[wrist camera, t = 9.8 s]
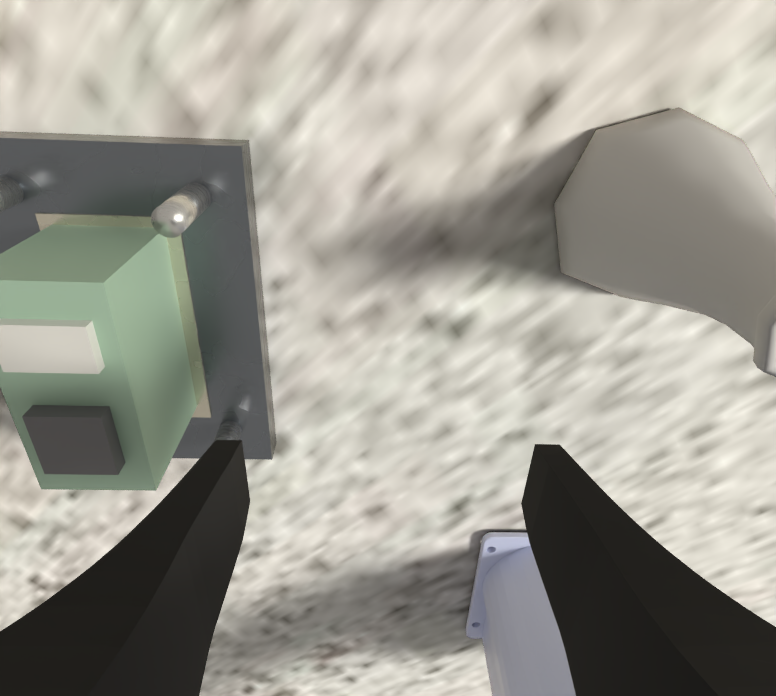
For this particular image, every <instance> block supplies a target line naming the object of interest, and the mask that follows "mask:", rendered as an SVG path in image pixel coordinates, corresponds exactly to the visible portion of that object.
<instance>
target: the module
mask: <svg viewBox="0 0 776 696" xmlns="http://www.w3.org/2000/svg"><path fill="white" fill-rule="evenodd" d="M0 388H1V391H2V393H3V395H4V398H5V400H6V403H7V405H8V408H9V410H10V413H11V415H12V418H13V420H14V423H15V425H16V428H17V430H18V433H19V435H20V438H21V440H22V442H23V445H24V447H25V450H26V452H27V455H28V457H29V460H30V462H31V465H32V467H33V470H34V472H35V475H36V477H37V480H38V482H39V485H40V487H41V489H77V490H157V488H158V486H159V483H160V481H161V479H162V477H163V475H164V473H165V471H166V469H167V467H168V465H169V463H170V461H171V459H172V457H173V455H174V453H175V451H176V448H177V446H178V444H179V442H180V440H181V438H182V436H183V434H184V432H185V430H186V428H187V426H188V424H189V422H190V420H191V418H192V416H193V413H194V411H195V409H196V407H197V403H196V398H195V392H194V387H193V381H192V376H191V370H190V365H189V359H188V354H187V348H186V342H185V337H184V331H183V326H182V320H181V315H180V309H179V304H178V298H177V292H176V287H175V281H174V276H173V270H172V265H171V259H170V254H169V248H168V243H167V237H164V236H162V235H160V234H159V233H158V232H157V231H156V230H155V229H154V228H153V227H119V226H84V225H50V226H48V227H47V228H45V229H43V230H41V231H40V232H38V233H36V234H34V235H33V236H31V237H29V238H27V239H26V240H24V241H22V242H20V243H19V244H17V245H15V246H13V247H12V248H10V249H8V250H6V251H5V252H3V253H1V254H0Z"/></svg>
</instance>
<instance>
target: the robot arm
mask: <svg viewBox="0 0 776 696" xmlns="http://www.w3.org/2000/svg"><path fill="white" fill-rule="evenodd" d="M249 504H250V497H249V490H248V482H247V475H246V467H245V459H244V452H243V444H242V440H216V441H215V442H214V443H212V445H211V446H210V447H209V448H208V449H207V451H206V452H205V453H204V454H203V455H202V456H201V458H200V459H199V460H198V461H197V462H196V464H195V465H194V466H193V467H192V468H191V469H190V470H189V472H188V473H187V474H186V475H185V476H184V477H183V478H182V480H181V481H180V482H179V483H178V484H177V485H176V486H175V487H174V488H173V489H172V490H171V492H170V493H169V494H168V495H167V496H166V497H165V498H164V499H163V500H162V501H161V502H160V503H159V504H158V505H157V506H156V507H155V509H154V510H152V511H151V512H150V513H149V514H148V515H147V516H146V517H145V518H144V519H143V520H142V521H141V522H140V523H139V524H138V525H137V526H136V527H135V528H134V529H133V530H132V531H131V532H130V533H129V534H128V535H127V536H126V537H125V538H124V539H122V540H121V541H120V542H119V543H118V544H117V545H116V546H115V547H114V548H112V549H111V550H110V551H109V552H108V553H107V554H105V555H104V556H103V557H102V558H101V559H100V560H98V561H97V562H96V563H95V564H94V565H92V566H91V567H90V568H89V569H87V570H86V571H85V572H84V573H82V574H81V575H80V576H79V577H77V578H76V579H75V580H73V581H72V582H71V583H69V584H68V585H67V586H65V587H64V588H63V589H61V590H60V591H59V592H57V593H56V594H55V595H53V596H52V597H51V598H49V599H48V600H47V601H45V602H44V603H42V604H41V605H40V606H38V607H37V608H35V609H34V610H32V611H31V612H29V613H28V614H26V615H25V616H23V617H22V618H20V619H19V620H17V621H16V622H14V623H13V624H11V625H10V626H8V627H7V628H5V629H3V630H2V631H0V696H199V693H200V688H201V684H202V679H203V675H204V670H205V665H206V661H207V656H208V652H209V648H210V644H211V640H212V637H213V633H214V629H215V626H216V623H217V620H218V617H219V614H220V610H221V607H222V604H223V601H224V598H225V595H226V592H227V588H228V585H229V582H230V579H231V576H232V573H233V570H234V566H235V563H236V560H237V557H238V554H239V550H240V547H241V544H242V540H243V536H244V531H245V526H246V520H247V515H248V509H249ZM521 504H522V509H523V514H524V519H525V524H526V529H527V533H525V532H490V533H487V534H485V535H484V536H483V538H482V543H481V548H480V554H479V559H478V564H477V570H476V575H475V581H474V586H473V591H472V597H471V602H470V607H469V613H468V618H467V623H466V635H467V637H469V638H473V639H482V640H483V646H484V651H485V657H486V663H487V668H488V674H489V679H490V685H491V690H492V696H776V627H775V626H773V625H772V624H770V623H768V622H767V621H765V620H763V619H762V618H760V617H759V616H757V615H756V614H754V613H753V612H751V611H750V610H748V609H746V608H745V607H743V606H742V605H740V604H739V603H738V602H736V601H735V600H733V599H732V598H730V597H729V596H727V595H726V594H725V593H723V592H722V591H720V590H719V589H717V588H716V587H714V586H713V585H712V584H710V583H709V582H708V581H706V580H705V579H703V578H702V577H701V576H699V575H698V574H697V573H695V572H694V571H693V570H692V569H690V568H689V567H688V566H687V565H685V564H684V563H683V562H681V561H680V560H679V559H678V558H676V557H675V556H674V555H673V554H671V553H670V552H669V551H668V550H666V549H665V548H664V547H663V546H662V545H661V544H659V543H658V542H657V541H656V540H655V539H654V538H652V537H651V536H650V535H649V534H648V533H647V532H646V531H645V530H644V529H642V528H641V527H640V526H639V525H638V524H637V523H636V522H635V521H634V520H633V519H631V518H630V517H629V516H628V515H627V514H626V513H625V512H624V511H623V510H622V509H621V508H620V507H619V506H618V505H617V504H616V503H615V502H614V501H613V500H612V499H611V498H610V497H609V496H608V495H607V494H606V493H605V492H604V491H603V490H602V489H601V488H600V487H599V486H598V485H597V484H596V483H595V482H594V481H593V480H592V479H591V478H590V476H589V475H588V474H587V473H586V472H585V471H584V470H583V469H582V468H581V467H580V466H579V465H578V464H577V463H576V462H575V461H574V459H573V458H572V457H571V456H570V455H569V454H568V453H567V452H566V451H565V450H564V449H563V448H562V447H561V446H560V445H545V444H535V447H534V451H533V456H532V460H531V464H530V469H529V473H528V477H527V482H526V486H525V490H524V495H523V499H522V503H521Z"/></svg>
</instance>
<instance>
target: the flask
mask: <svg viewBox="0 0 776 696" xmlns="http://www.w3.org/2000/svg"><path fill="white" fill-rule="evenodd" d="M554 208H555V218H556V228H557V238H558V248H559V258H560V268H561V273H563V274H566V275H568V276H571V277H573V278H576V279H578V280H581V281H583V282H586V283H588V284H591V285H593V286H596V287H598V288H600V289H603V290H605V291H608V292H610V293H613V294H615V295H618V296H621V297H625V298H629V299H634V300H639V301H645V302H651V303H656V304H662V305H667V306H671V307H675V308H679V309H683V310H687V311H691V312H696V313H700V314H704V315H707V316H709V317H711V318H713V319H715V320H717V321H719V322H721V323H724V324H726V325H727V326H728V327H730V328H731V329H732V330H733V331H735V332H736V333H737V334H739V335H740V336H741V337H742V338H744V339H745V340H746V341H748V342H749V343H750V344H751V345H752V346H753V347H754V356H753V361H754V363H755V364H756V366H757V367H758V368H759V369H760V370H762V371H763V372H765V373H768V374H770V375H773V376H775V377H776V195H775V194H774V192H773V191H772V189H771V188H770V186H769V185H768V183H767V181H766V179H765V177H764V176H763V174H762V172H761V170H760V168H759V166H758V164H757V163H756V161H755V159H754V157H753V155H752V153H751V151H750V150H749V148H748V147H747V145H746V144H745V142H744V141H743V140H742V139H740V138H738V137H736V136H734V135H732V134H730V133H728V132H726V131H724V130H722V129H720V128H718V127H716V126H714V125H712V124H710V123H708V122H706V121H705V120H703V119H701V118H699V117H697V116H695V115H693V114H691V113H689V112H687V111H685V110H683V109H681V108H675V109H672V110H668V111H664V112H661V113H657V114H653V115H649V116H646V117H642V118H638V119H635V120H631V121H627V122H624V123H620V124H616V125H613V126H609V127H605V128H601V129H598V130H596V131H595V133H594V135H593V136H592V138H591V140H590V142H589V144H588V145H587V147H586V149H585V151H584V152H583V154H582V156H581V158H580V160H579V161H578V163H577V165H576V167H575V168H574V170H573V172H572V174H571V176H570V177H569V179H568V181H567V183H566V184H565V186H564V188H563V190H562V192H561V193H560V195H559V197H558V199H557V200H556V202H555V204H554Z"/></svg>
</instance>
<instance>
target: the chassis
mask: <svg viewBox="0 0 776 696" xmlns="http://www.w3.org/2000/svg"><path fill="white" fill-rule="evenodd" d="M50 225H84V226H119V227H153V228H154V229H155V230H156V231H157V232H158V233H159V234H160V235H162V236H164V237H167V243H168V248H169V254H170V259H171V265H172V270H173V276H174V281H175V287H176V292H177V298H178V304H179V309H180V315H181V320H182V326H183V331H184V337H185V342H186V348H187V354H188V359H189V365H190V370H191V376H192V381H193V387H194V392H195V398H196V403H197V407H196V409H195V411H194V413H193V416H192V418H191V420H190V422H189V424H188V426H187V428H186V430H185V432H184V434H183V436H182V438H181V440H180V442H179V444H178V446H177V448H176V451H175V453H174V455H173V457H172V458H201V456H202V455H203V454H204V453H205V452H206V451H207V449H208V448H209V447H210V446H211V445H212V443H214V442H215V441H216V440H242V444H243V452H244V459H272V458H273V454H274V450H275V446H276V434H275V423H274V412H273V401H272V390H271V379H270V368H269V357H268V346H267V335H266V324H265V313H264V302H263V291H262V280H261V269H260V258H259V247H258V236H257V225H256V214H255V203H254V192H253V181H252V170H251V159H250V148H249V140H225V139H196V138H168V137H139V136H111V135H83V134H54V133H26V132H0V254H1V253H3V252H5V251H6V250H8V249H10V248H12V247H13V246H15V245H17V244H19V243H20V242H22V241H24V240H26V239H27V238H29V237H31V236H33V235H34V234H36V233H38V232H40V231H41V230H43V229H45V228H47V227H48V226H50Z"/></svg>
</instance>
